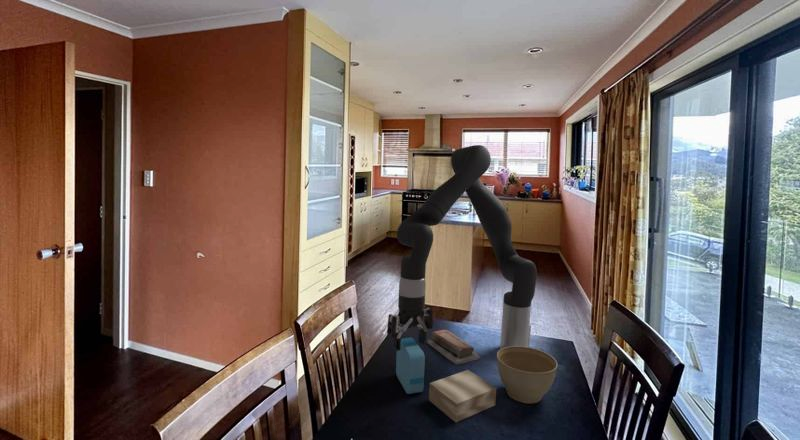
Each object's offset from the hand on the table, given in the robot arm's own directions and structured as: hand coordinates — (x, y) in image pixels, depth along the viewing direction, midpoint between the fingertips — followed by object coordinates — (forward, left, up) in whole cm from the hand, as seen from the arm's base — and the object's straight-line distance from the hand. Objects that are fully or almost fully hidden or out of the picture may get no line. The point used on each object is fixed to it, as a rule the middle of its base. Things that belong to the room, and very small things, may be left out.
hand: (409, 346), depth 114 cm
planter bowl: (-25, +21, -12) cm, 35 cm away
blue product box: (0, 0, -12) cm, 12 cm away
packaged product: (-25, -10, -12) cm, 30 cm away
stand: (-7, +15, -12) cm, 20 cm away
